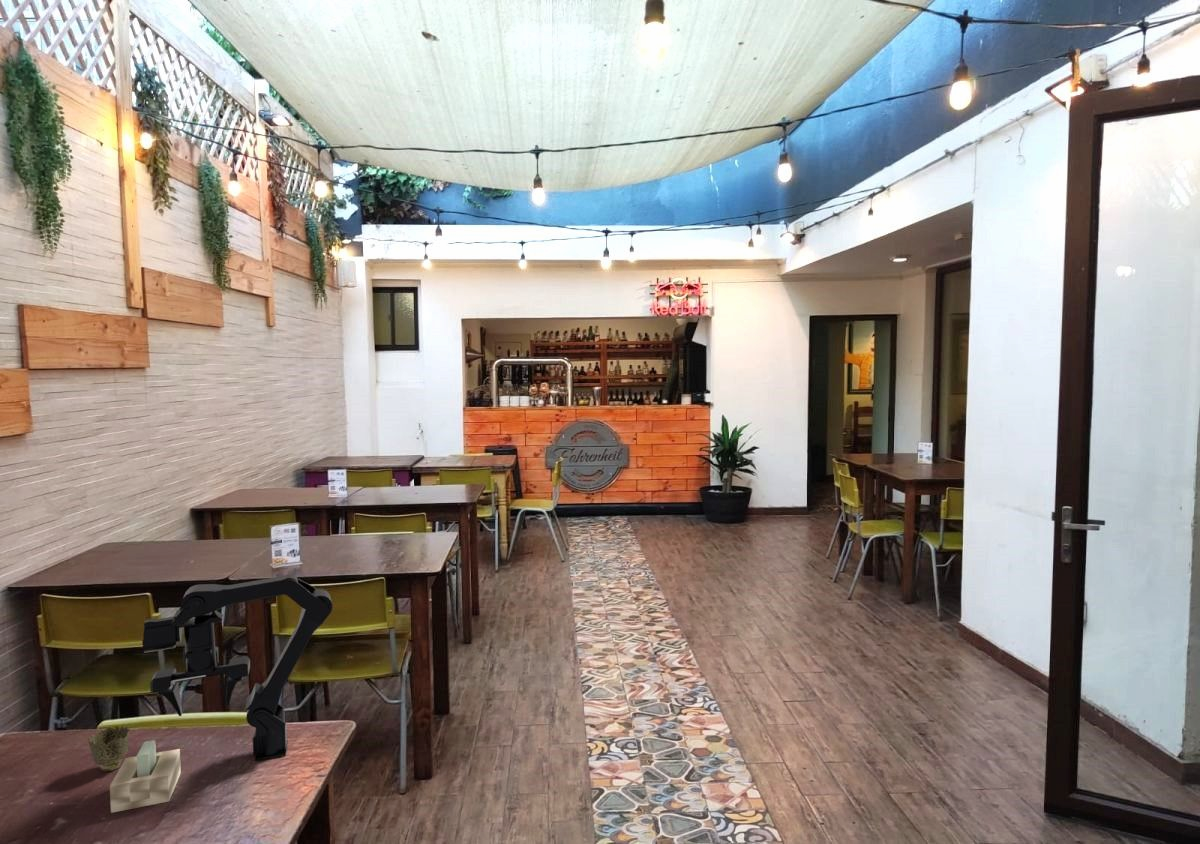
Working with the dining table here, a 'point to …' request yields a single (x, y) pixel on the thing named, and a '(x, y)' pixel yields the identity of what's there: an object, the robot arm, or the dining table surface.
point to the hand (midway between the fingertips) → (204, 710)
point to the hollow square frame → (145, 782)
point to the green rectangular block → (146, 759)
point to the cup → (109, 747)
